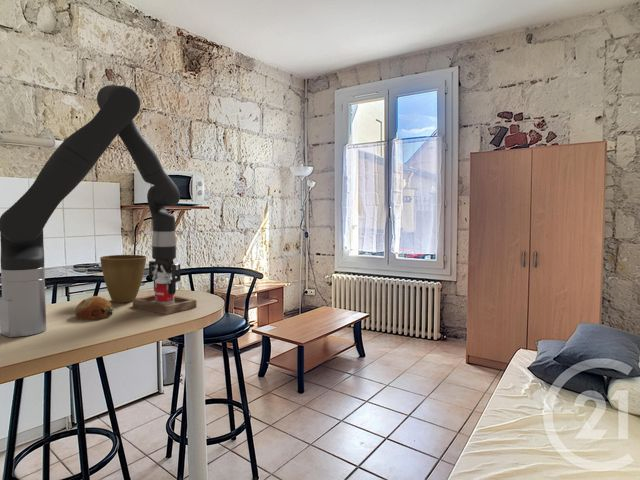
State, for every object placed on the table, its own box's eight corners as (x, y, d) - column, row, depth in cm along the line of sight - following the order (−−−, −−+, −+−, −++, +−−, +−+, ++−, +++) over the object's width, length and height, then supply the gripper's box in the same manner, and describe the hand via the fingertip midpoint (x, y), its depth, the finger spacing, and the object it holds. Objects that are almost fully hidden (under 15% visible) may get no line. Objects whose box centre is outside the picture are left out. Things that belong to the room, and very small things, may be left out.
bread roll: (103, 322, 130) (96, 299, 131) (123, 312, 125) (115, 288, 126) (73, 330, 121) (65, 305, 122) (93, 320, 117) (85, 294, 117)
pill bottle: (151, 304, 136) (150, 271, 135) (167, 301, 141) (167, 269, 140) (161, 307, 132) (161, 273, 131) (178, 303, 137) (177, 271, 136)
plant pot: (130, 306, 136) (129, 259, 135) (91, 304, 138) (90, 258, 137) (155, 297, 151) (154, 255, 149) (119, 295, 153) (118, 253, 152)
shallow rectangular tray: (165, 314, 127) (165, 306, 127) (132, 306, 137) (132, 298, 136) (196, 307, 137) (196, 300, 137) (163, 299, 147) (163, 293, 146)
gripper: (187, 245, 134) (187, 293, 135) (160, 242, 142) (161, 288, 143) (167, 246, 128) (168, 297, 129) (141, 243, 136) (141, 291, 137)
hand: (164, 292), depth 136 cm, fingers open, 7 cm apart
